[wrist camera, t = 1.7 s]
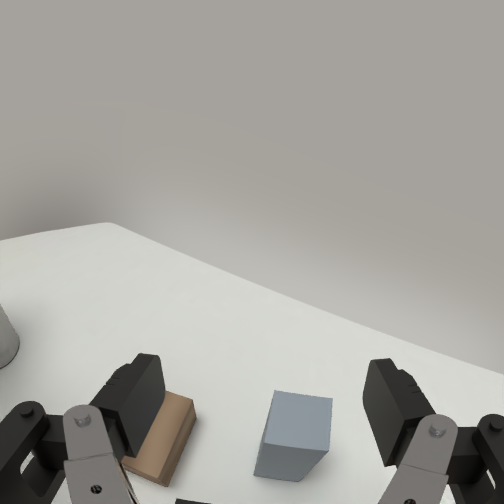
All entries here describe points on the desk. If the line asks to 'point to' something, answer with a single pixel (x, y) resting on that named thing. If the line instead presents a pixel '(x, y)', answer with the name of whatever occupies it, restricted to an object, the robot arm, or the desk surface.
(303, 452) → the slate pillar
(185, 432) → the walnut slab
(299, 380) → the desk surface
